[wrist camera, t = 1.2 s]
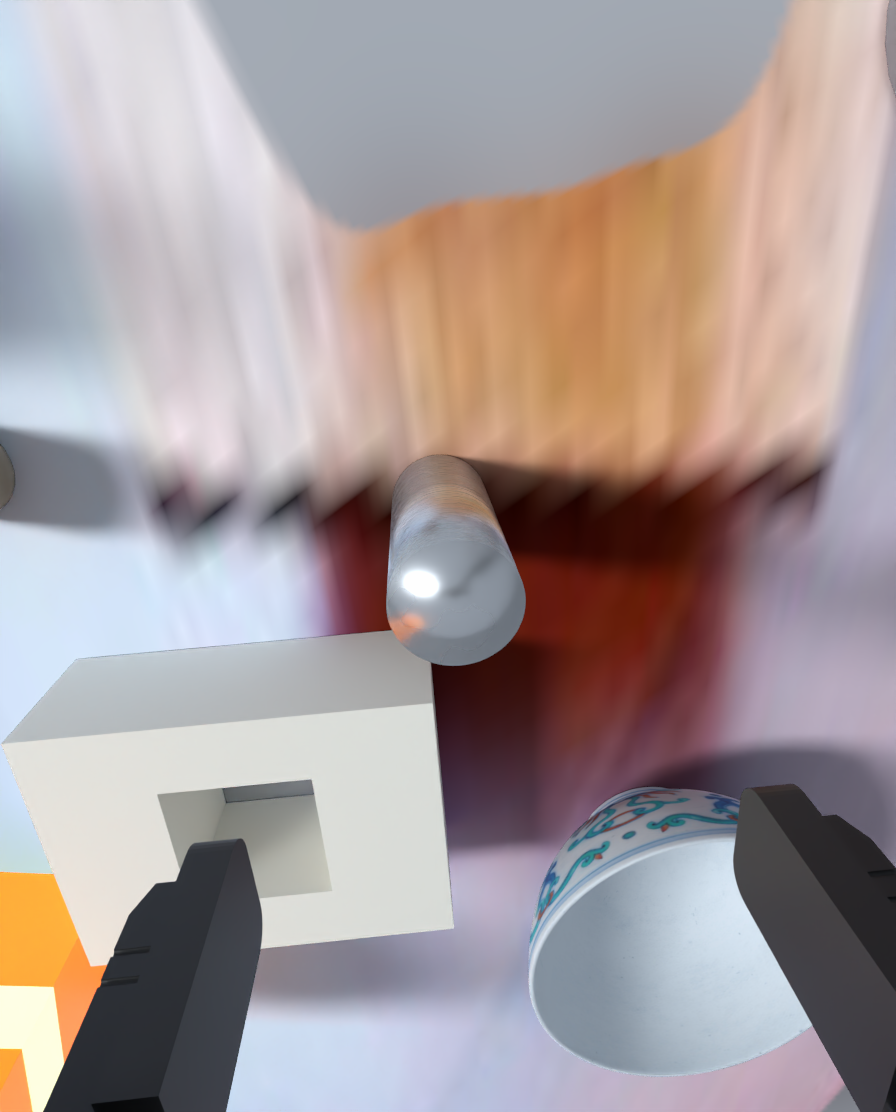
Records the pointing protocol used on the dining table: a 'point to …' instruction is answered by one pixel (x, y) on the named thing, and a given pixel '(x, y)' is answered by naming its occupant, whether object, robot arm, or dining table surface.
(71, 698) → the hole block
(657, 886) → the chinaware
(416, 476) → the long pin
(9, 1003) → the orange juice
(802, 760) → the dining table surface
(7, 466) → the short pin
